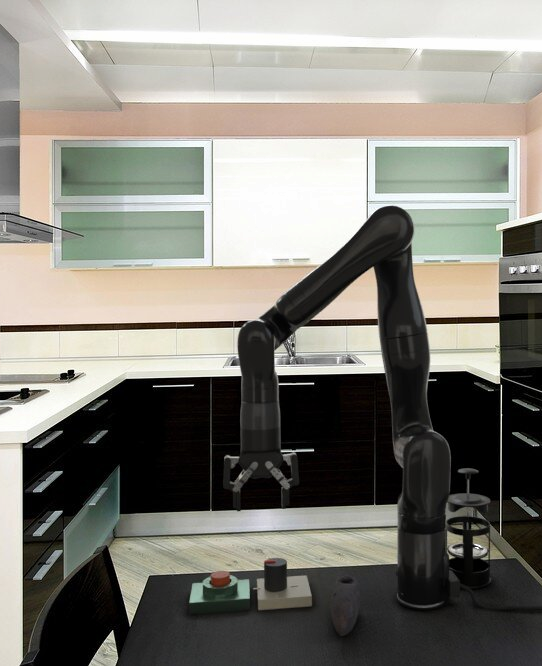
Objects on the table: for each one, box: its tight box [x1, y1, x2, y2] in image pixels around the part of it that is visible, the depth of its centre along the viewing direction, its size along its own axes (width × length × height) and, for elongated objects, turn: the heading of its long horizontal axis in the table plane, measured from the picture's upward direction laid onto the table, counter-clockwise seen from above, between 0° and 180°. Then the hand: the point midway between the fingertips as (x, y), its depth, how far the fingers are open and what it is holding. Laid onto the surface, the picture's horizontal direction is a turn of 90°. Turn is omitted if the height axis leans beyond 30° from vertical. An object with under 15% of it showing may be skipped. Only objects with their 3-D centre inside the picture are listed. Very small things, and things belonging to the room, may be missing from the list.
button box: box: [188, 574, 251, 615], centre depth 129 cm, size 11×9×4 cm
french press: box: [446, 467, 492, 591], centre depth 139 cm, size 12×9×23 cm
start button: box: [210, 570, 231, 586], centre depth 129 cm, size 4×4×2 cm
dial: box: [263, 557, 288, 592], centre depth 131 cm, size 4×4×5 cm
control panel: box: [252, 574, 313, 611], centre depth 131 cm, size 11×10×2 cm
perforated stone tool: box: [330, 570, 361, 637], centre depth 120 cm, size 15×5×7 cm, turn 175°
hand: (261, 508), depth 129 cm, fingers open, 8 cm apart
